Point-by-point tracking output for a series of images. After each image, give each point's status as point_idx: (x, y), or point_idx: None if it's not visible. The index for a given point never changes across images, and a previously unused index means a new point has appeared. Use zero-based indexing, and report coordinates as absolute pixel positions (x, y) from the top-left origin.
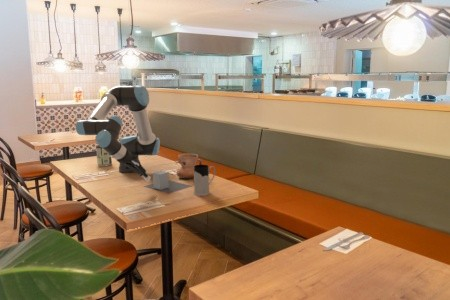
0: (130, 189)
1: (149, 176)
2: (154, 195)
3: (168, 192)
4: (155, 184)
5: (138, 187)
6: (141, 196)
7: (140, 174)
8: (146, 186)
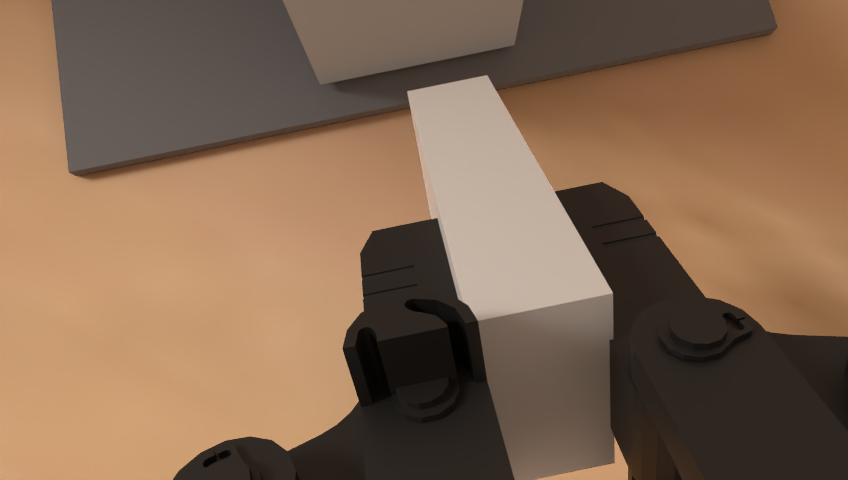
0: (41, 434)
1: (507, 121)
2: (689, 254)
3: (720, 4)
4: (374, 34)
5: (35, 255)
6: (601, 472)
7: (533, 468)
8: (122, 130)
